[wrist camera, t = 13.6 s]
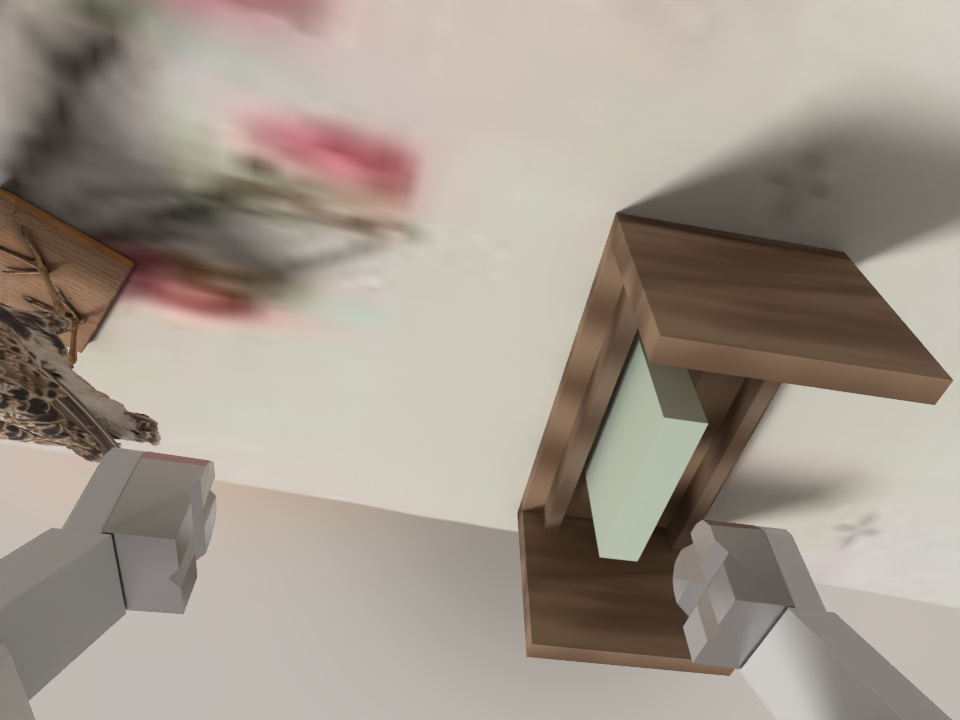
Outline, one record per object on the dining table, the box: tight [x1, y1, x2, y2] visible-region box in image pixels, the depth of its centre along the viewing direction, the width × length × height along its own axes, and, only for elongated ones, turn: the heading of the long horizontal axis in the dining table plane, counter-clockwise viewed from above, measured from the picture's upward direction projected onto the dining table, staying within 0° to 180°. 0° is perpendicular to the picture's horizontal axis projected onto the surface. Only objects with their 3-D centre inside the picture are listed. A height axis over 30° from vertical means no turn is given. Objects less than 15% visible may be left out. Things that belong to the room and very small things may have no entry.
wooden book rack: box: [518, 213, 953, 676], centre depth 44 cm, size 26×14×12 cm, turn 169°
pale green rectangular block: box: [584, 331, 708, 562], centre depth 45 cm, size 12×2×8 cm, turn 169°
